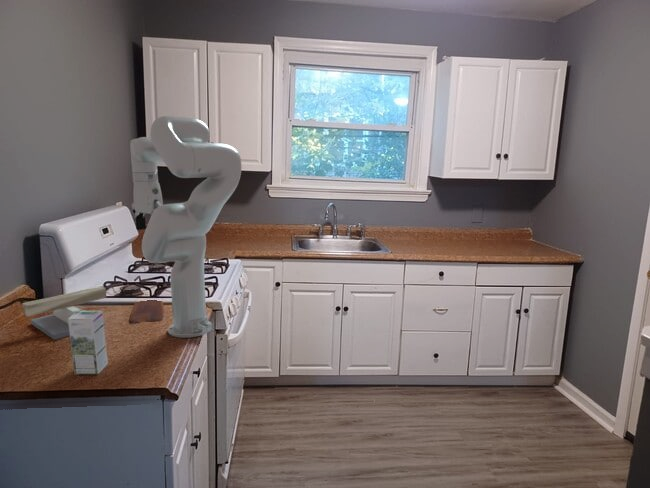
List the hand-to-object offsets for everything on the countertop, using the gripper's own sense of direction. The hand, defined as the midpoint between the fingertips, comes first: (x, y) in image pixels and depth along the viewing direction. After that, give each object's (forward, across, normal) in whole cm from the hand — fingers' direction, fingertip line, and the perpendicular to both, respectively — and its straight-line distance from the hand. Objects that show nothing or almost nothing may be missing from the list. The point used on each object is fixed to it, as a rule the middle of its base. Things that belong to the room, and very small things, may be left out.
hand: (149, 230), depth 145 cm
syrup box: (+28, -26, +34) cm, 51 cm away
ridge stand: (+27, +8, +25) cm, 37 cm away
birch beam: (+20, +7, +25) cm, 33 cm away
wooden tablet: (+28, +2, +1) cm, 28 cm away
